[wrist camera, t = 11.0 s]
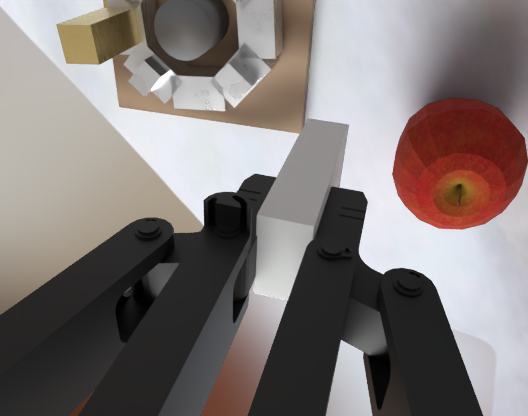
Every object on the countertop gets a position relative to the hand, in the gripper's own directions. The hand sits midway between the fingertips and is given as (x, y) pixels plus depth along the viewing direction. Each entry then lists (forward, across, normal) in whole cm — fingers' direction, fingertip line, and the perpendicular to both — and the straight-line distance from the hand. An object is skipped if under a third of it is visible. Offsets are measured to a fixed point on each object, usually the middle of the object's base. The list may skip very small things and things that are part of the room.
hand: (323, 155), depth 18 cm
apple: (+29, +8, -10) cm, 32 cm away
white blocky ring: (+27, -16, -2) cm, 32 cm away
